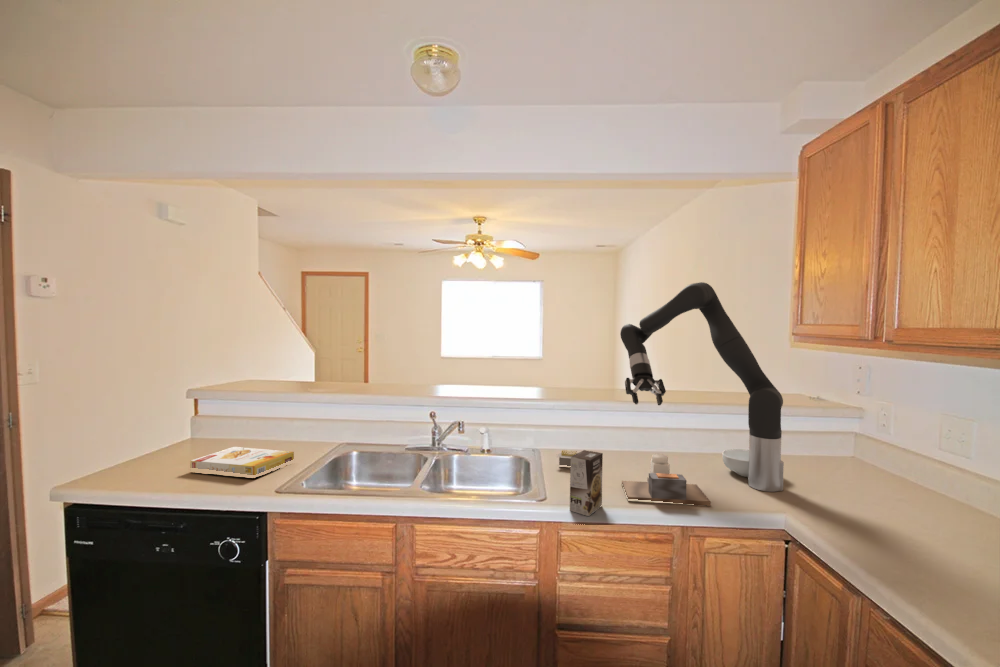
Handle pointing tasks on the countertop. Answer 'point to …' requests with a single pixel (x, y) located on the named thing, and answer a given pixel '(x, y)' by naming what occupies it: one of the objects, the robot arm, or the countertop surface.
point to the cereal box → (243, 460)
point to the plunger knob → (659, 464)
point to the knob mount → (666, 490)
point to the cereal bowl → (737, 461)
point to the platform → (565, 457)
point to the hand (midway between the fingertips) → (648, 403)
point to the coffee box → (586, 482)
